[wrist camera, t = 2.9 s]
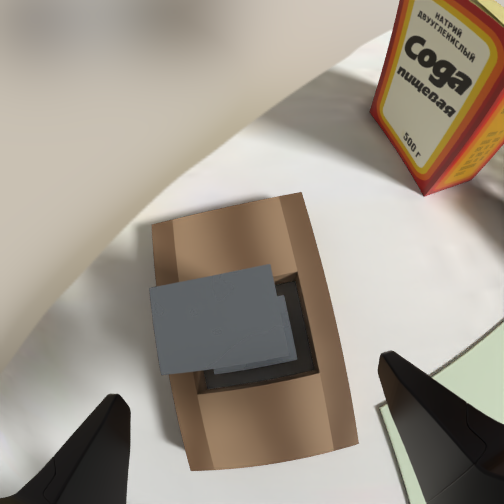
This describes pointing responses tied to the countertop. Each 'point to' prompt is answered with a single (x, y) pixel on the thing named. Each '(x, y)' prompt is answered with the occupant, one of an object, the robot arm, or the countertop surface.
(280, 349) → the lever cap
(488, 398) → the sage mat
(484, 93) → the baking soda box
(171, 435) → the countertop surface
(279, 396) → the brown rectangular frame
